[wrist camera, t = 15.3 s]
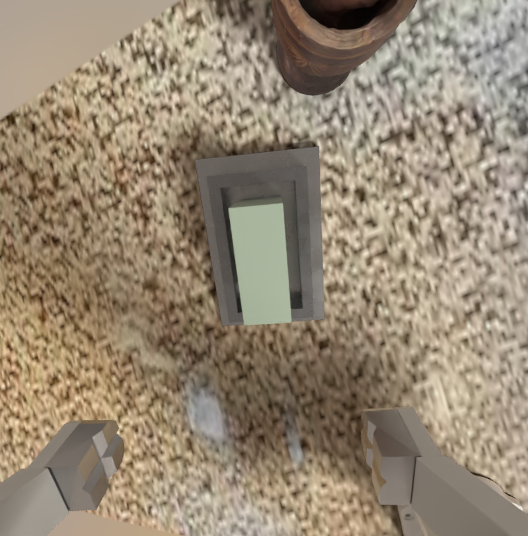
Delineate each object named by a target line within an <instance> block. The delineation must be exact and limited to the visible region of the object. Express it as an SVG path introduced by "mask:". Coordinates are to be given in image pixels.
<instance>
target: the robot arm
mask: <svg viewBox="0 0 528 536" xmlns="http://www.w3.org/2000/svg"><path fill="white" fill-rule="evenodd" d="M361 420H362V423H363V426H364V427H363V428H362V429H361V441H362V448H363V452H364V456H365V460H366V463H367V465H368V466H369V467H370V468H371V469H372V482H373V485H374V489H375V492H376V495H377V498H378V501H379V504H380V505H398V506H397V508H398V512H399V517H400V521H401V526H402V531H403V535H404V536H528V515H527V514H526V513H524V512H523V508H522V506H521V505H520V503H519V502H518V500H516V499H515V498H513V497H511V496H508V495H506V494H505V493H504V492H503V491H502V489H501V488H500V487H499V486H498V485H497V484H496V483H495V482H493V481H491V480H489V479H487V478H484V477H480V476H475V475H473V474H472V473H470V472H469V471H468V470H466V469H465V468H463V467H462V466H461V465H459V464H458V463H457V462H455V461H454V460H453V459H451V458H450V457H449V456H442V454H441V453H440V451H439V449H438V448H437V446H436V444H435V443H434V441H433V439H432V438H431V436H430V434H429V432H428V431H427V429H426V427H425V426H424V424H423V422H422V421H421V419H420V417H419V416H418V414H417V412H416V411H415V409H414V408H412V407H396V408H376V409H362V412H361ZM118 429H119V427H118V425H117V422H116V421H114V420H84V421H69V422H68V423H66V424H64V426H63V427H62V428H61V429H60V430H59V431H58V433H57V434H56V435H55V436H54V437H53V438H52V440H51V441H50V442H49V443H48V444H47V445H46V447H45V448H44V449H43V450H42V451H41V453H40V454H39V455H38V456H37V457H36V458H35V460H34V461H33V462H32V463H31V464H30V465H29V467H28V468H27V469H21V470H20V471H18V472H17V473H15V474H14V475H12V476H11V477H9V478H8V479H6V480H5V481H3V482H1V483H0V536H46V535H47V534H48V533H49V532H50V531H51V530H52V529H53V528H54V527H55V526H56V525H57V524H58V523H59V522H60V521H61V520H62V519H63V518H64V517H65V516H66V515H67V514H68V513H69V511H80V510H96V509H97V507H98V506H99V504H100V502H101V500H102V498H103V496H104V495H105V493H106V491H107V489H108V487H109V478H110V477H111V476H112V475H113V474H114V473H115V472H117V470H118V468H119V466H120V464H121V463H122V459H123V455H124V442H123V439H122V438H121V437H120V436H119V435H118V434H116V433H117V431H118Z"/></svg>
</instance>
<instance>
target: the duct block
mask: <svg viewBox="0 0 528 536" xmlns="http://www.w3.org/2000/svg"><path fill="white" fill-rule="evenodd" d="M228 209H229V217H230V224H231V231H232V239H233V246H234V254H235V261H236V268H237V276H238V283H239V291H240V298H241V305H242V313H243V320H244V325H260V324H276V323H291V322H292V320H291V307H290V293H289V279H288V266H287V252H286V239H285V225H284V211H283V201H282V197H281V196H274V197H264V198H253V199H243V200H239V201H238V202H236V203H235V204H234V205H232V206H231V207H230V208H228Z"/></svg>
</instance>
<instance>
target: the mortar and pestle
mask: <svg viewBox="0 0 528 536" xmlns="http://www.w3.org/2000/svg"><path fill="white" fill-rule="evenodd" d="M271 1H272V11H273V18H274V23H275V27H276V32H277V35H278V40H277V59H278V63H279V67H280V70H281V73H282V75H283V77H284V79H285V80H286V81H287V83H288V84H289V85H290V86H291V87H292V88H293V89H294V90H296V91H297V92H299V93H302V94H306V95H319V94H324V93H327V92H330V91H332V90H334V89H335V88H337V87H338V86H340V85H341V84H342V83H343V82H344V81H345V79H346V78H347V76H348V75H349V73H350V71H351V70H352V69H354V68H356V67H357V66H359V65H361V64H362V63H363V62H365V61H366V60H367V59H369V58H370V57H371V56H372V55H373V54H374V53H375V52H376V51H377V50H378V49H379V48H380V47H381V46H382V45H383V44H384V43H385V42H386V40H387V39H388V38H389V37H390V36H391V34H392V33H393V32H394V31H395V29H396V28H397V27H398V26H399V24H400V23H401V22H402V21H404V20H405V18H406V17H407V15H408V14H409V13H410V12H411V11H412V9H413V8H414V7H415V4H416V2H417V0H271Z"/></svg>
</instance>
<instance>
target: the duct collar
mask: <svg viewBox="0 0 528 536" xmlns="http://www.w3.org/2000/svg"><path fill="white" fill-rule="evenodd" d="M195 164H196V170H197V176H198V182H199V188H200V194H201V200H202V206H203V213H204V219H205V225H206V231H207V237H208V243H209V249H210V255H211V261H212V267H213V273H214V279H215V286H216V292H217V298H218V304H219V310H220V316H221V322H222V326H230V325H244V320H243V313H242V305H241V298H240V291H239V283H238V276H237V268H236V261H235V254H234V246H233V239H232V231H231V224H230V217H229V209H228V208H230V207H231V206H232V205H234V204H235V203H236V202H238V201H239V200H243V199H253V198H264V197H274V196H281V197H282V201H283V211H284V225H285V239H286V252H287V266H288V279H289V293H290V307H291V320H292V321H307V320H323V319H324V292H323V260H322V229H321V197H320V165H319V146H318V147H309V148H299V149H290V150H281V151H272V152H262V153H253V154H244V155H235V156H225V157H216V158H207V159H198V160H195Z"/></svg>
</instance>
